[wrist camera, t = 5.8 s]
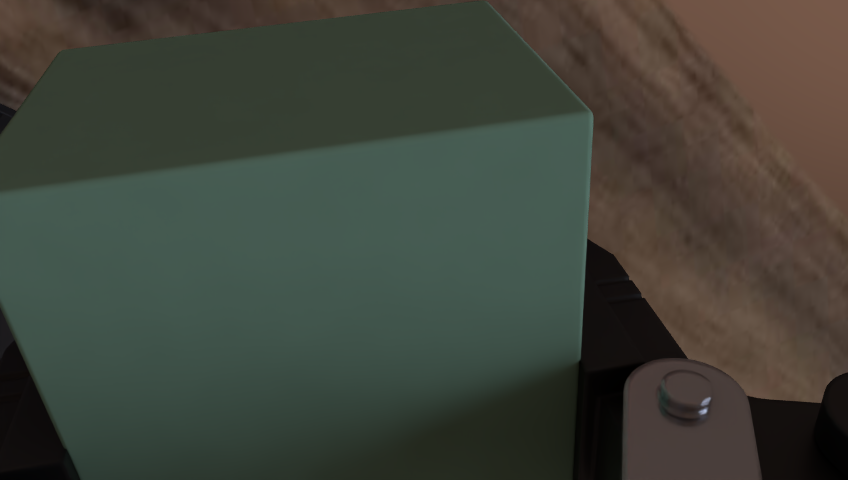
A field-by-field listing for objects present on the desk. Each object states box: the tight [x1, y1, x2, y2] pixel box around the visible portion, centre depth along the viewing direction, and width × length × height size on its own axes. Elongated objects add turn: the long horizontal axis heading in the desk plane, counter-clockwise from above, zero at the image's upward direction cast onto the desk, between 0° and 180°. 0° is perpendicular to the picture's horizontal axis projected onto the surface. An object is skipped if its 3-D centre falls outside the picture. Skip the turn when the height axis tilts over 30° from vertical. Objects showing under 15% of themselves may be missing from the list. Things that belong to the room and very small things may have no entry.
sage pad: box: [0, 0, 593, 480], centre depth 10 cm, size 6×8×4 cm
